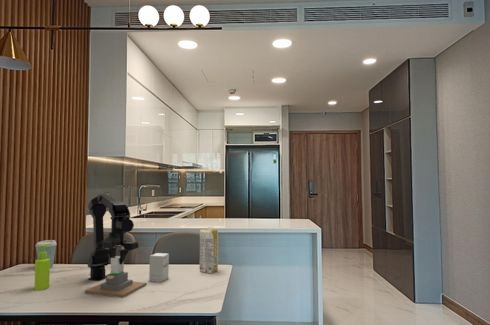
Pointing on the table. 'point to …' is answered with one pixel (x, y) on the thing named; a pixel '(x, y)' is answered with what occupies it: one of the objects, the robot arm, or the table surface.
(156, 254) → the supplement box
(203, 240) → the juice carton
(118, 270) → the block
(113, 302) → the table surface
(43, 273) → the soap dispenser
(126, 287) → the tan base plate
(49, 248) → the disposable coffee cup
